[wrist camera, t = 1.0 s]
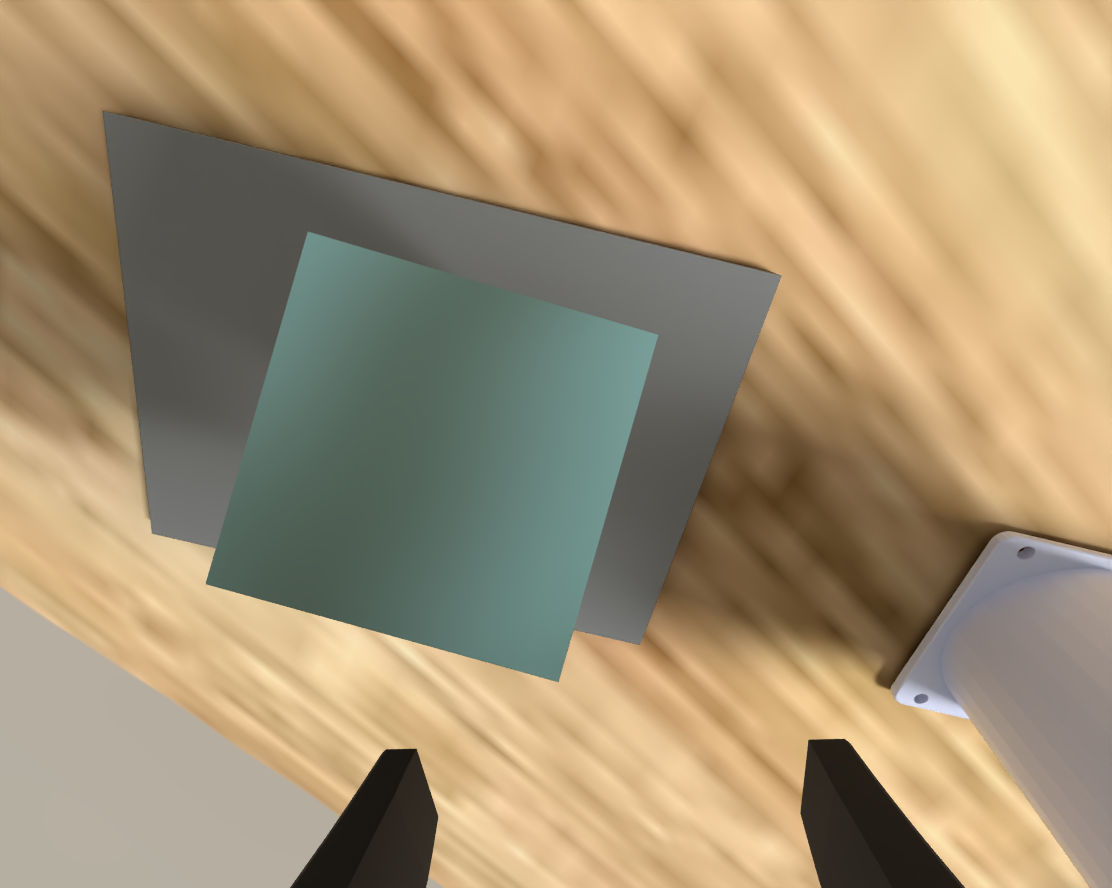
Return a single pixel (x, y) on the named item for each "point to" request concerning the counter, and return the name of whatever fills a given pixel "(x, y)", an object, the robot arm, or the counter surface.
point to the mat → (430, 240)
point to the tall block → (432, 458)
